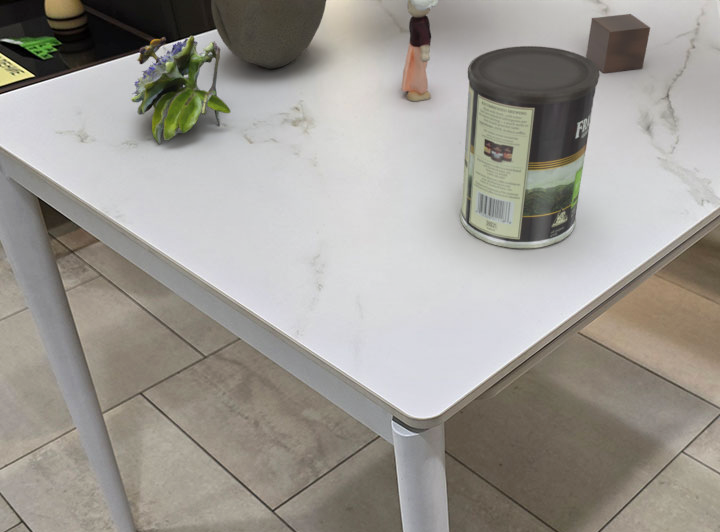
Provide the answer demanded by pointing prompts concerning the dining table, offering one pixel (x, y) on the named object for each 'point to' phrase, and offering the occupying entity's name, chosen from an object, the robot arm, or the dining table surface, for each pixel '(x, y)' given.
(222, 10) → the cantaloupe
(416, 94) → the grandmother figurine
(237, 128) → the dining table surface
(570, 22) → the dining table surface
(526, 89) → the coffee can
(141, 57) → the passion flower
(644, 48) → the walnut block
